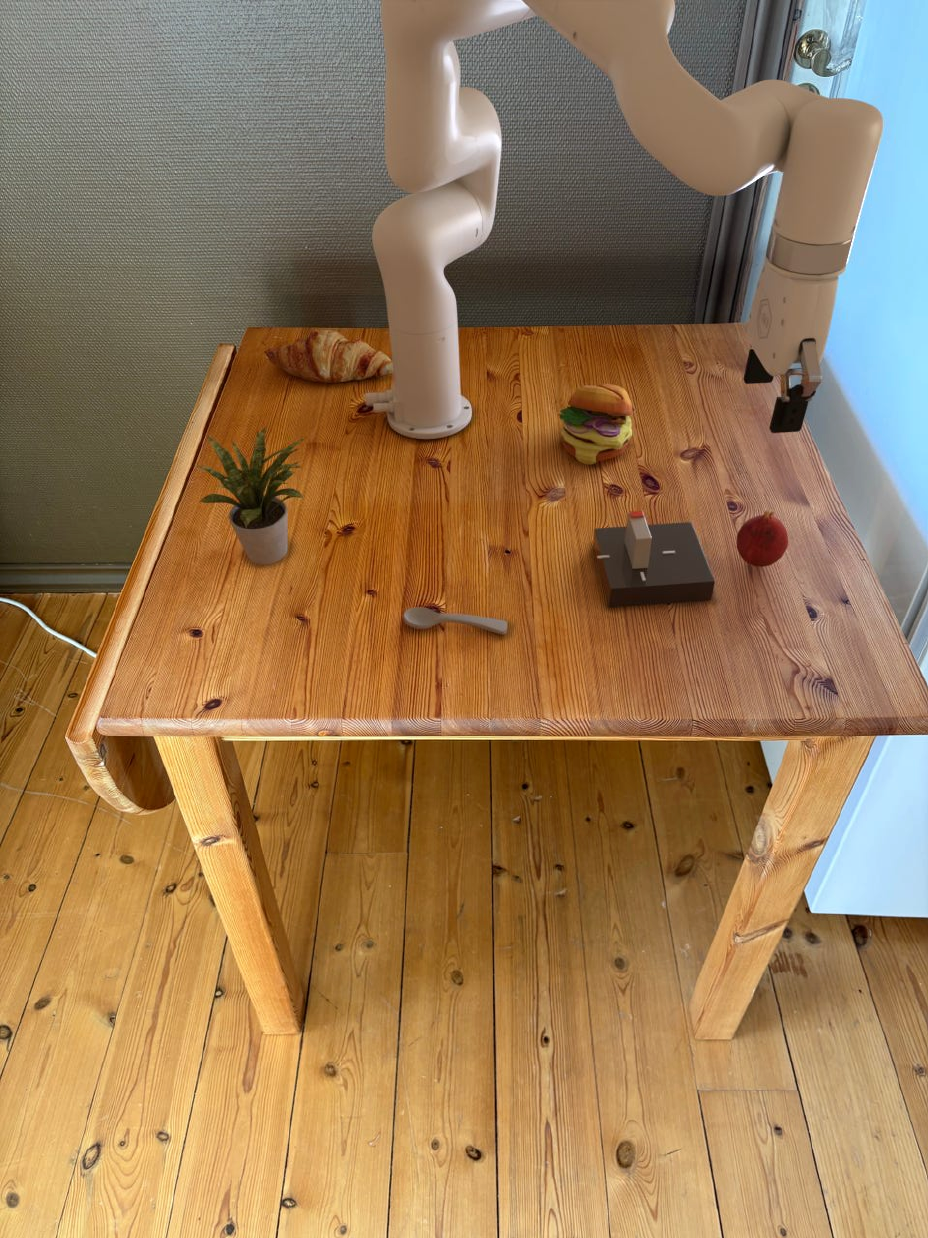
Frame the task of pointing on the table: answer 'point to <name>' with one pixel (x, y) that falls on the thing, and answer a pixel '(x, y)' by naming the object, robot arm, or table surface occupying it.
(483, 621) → the spoon
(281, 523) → the house plant
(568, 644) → the table surface
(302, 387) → the table surface
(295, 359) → the croissant
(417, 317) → the robot arm
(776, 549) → the onion
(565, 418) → the cheeseburger
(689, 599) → the dial base
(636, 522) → the knob
